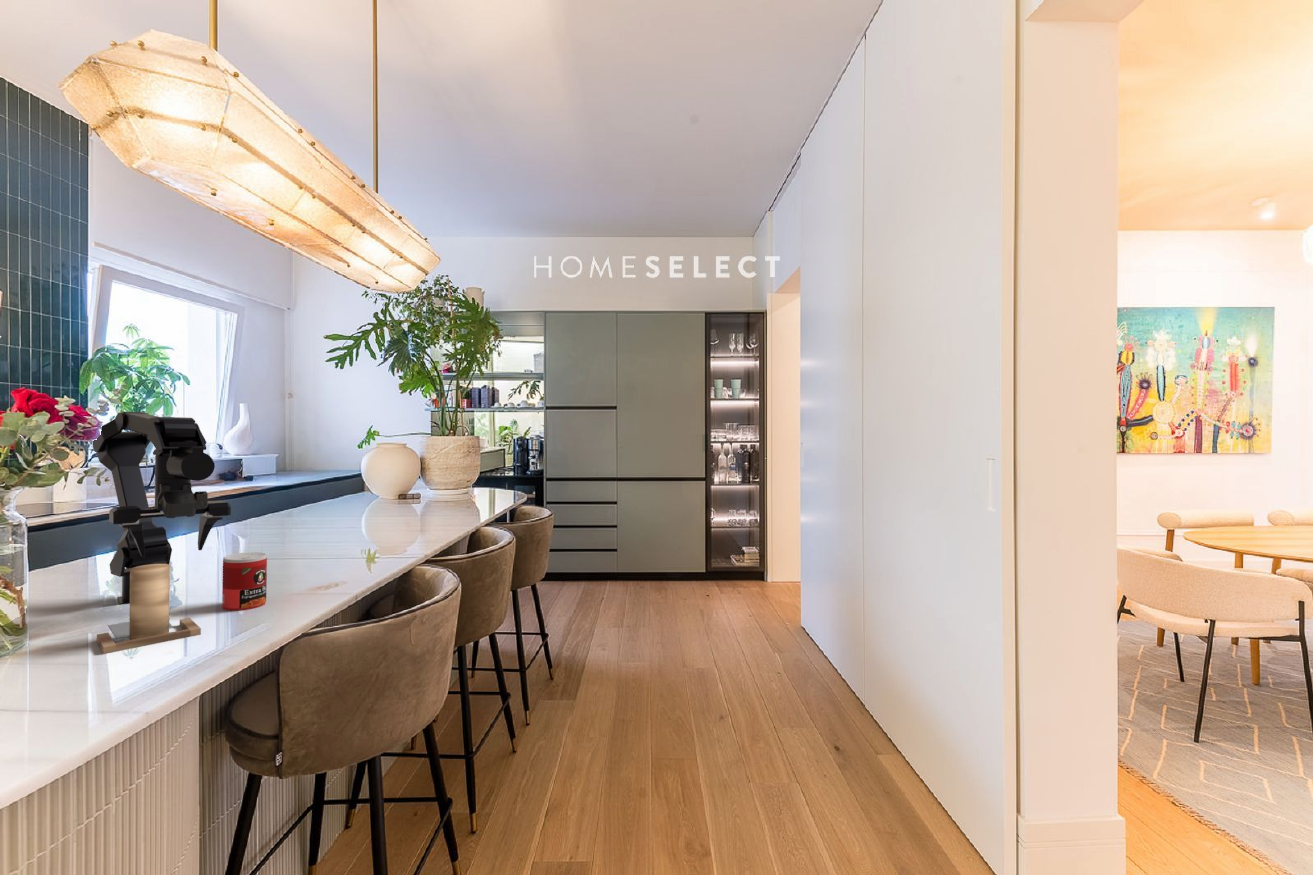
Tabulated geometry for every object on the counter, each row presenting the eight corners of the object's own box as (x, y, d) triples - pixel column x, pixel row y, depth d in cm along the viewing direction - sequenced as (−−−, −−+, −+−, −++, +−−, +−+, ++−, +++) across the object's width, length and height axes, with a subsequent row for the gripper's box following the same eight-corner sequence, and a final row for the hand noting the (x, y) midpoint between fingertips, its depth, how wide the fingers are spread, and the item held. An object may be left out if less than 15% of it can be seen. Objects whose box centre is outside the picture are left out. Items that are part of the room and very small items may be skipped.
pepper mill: (126, 639, 105) (127, 567, 104) (165, 631, 109) (166, 562, 109) (132, 647, 101) (132, 572, 101) (171, 639, 105) (172, 567, 105)
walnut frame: (96, 643, 103) (96, 634, 103) (189, 625, 112) (189, 617, 112) (103, 656, 97) (103, 647, 97) (200, 636, 107) (200, 628, 107)
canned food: (244, 614, 120) (245, 561, 120) (212, 610, 121) (212, 558, 121) (275, 603, 127) (276, 553, 127) (244, 600, 129) (245, 551, 129)
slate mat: (108, 627, 110) (108, 625, 110) (162, 617, 116) (162, 615, 116) (116, 640, 104) (116, 638, 104) (174, 629, 110) (174, 627, 110)
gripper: (118, 483, 108) (117, 567, 108) (238, 478, 122) (237, 552, 122) (109, 479, 115) (108, 557, 115) (223, 474, 129) (222, 545, 129)
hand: (172, 553), depth 120 cm, fingers open, 9 cm apart
